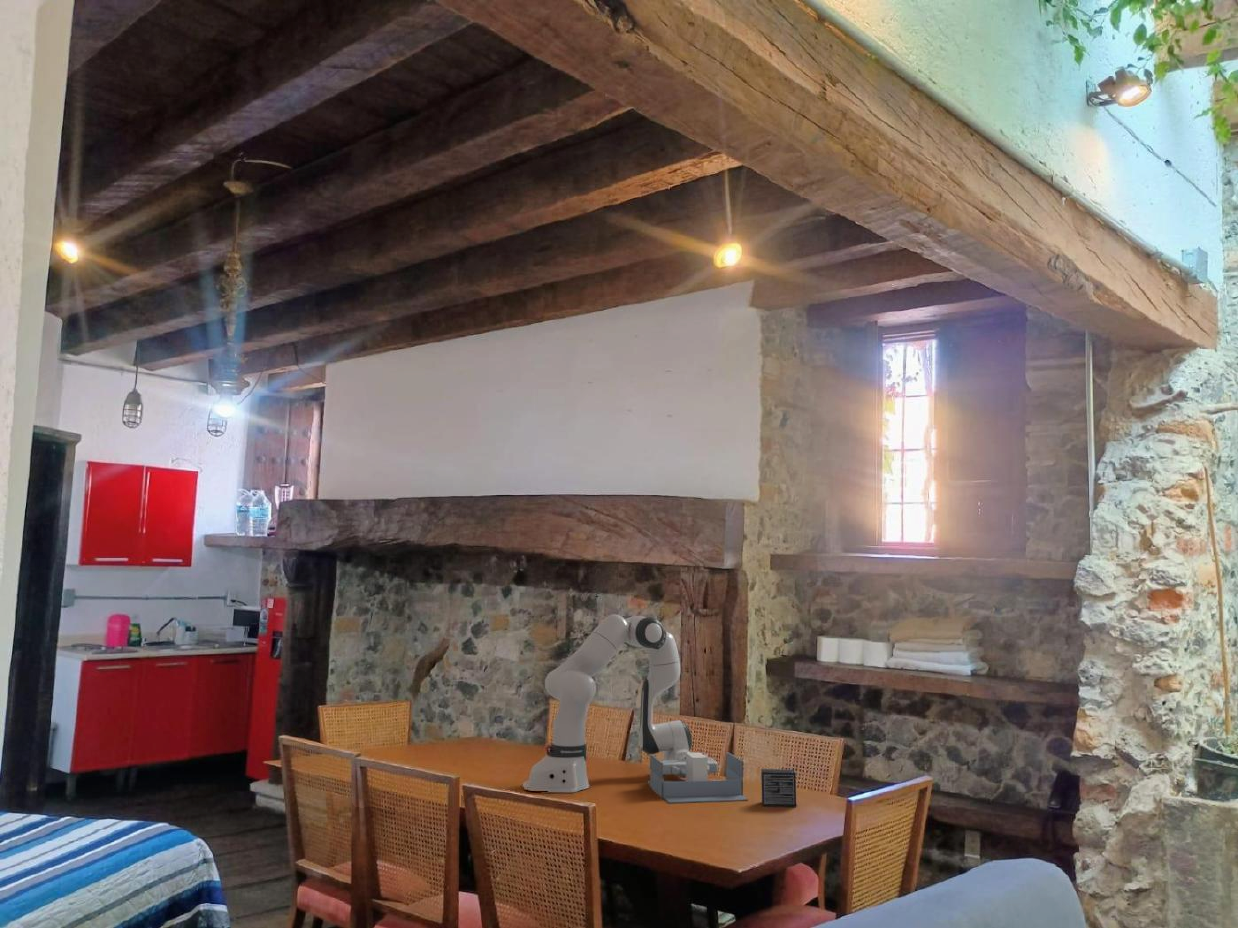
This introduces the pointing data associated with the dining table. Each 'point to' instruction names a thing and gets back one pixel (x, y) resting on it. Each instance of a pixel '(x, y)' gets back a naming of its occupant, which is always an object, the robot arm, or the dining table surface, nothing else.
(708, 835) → the dining table surface
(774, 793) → the small box
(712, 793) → the blue-grey open walled piece
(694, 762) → the box
